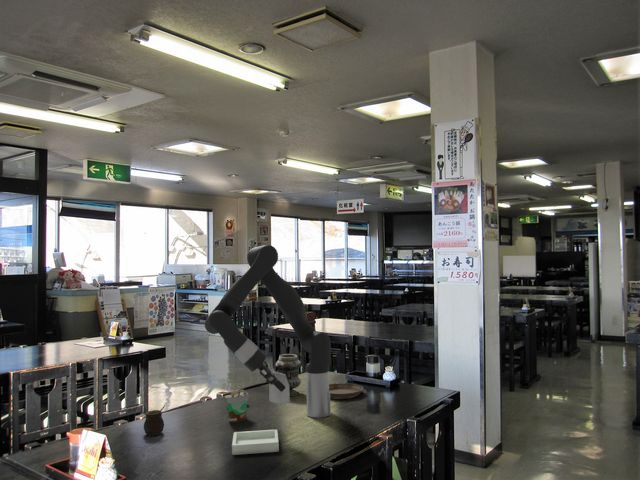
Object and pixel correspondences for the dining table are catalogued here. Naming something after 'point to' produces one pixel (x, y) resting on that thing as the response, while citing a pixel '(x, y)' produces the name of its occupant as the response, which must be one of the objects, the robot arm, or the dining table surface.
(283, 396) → the tea bag
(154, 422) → the mate gourd
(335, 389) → the plant saucer
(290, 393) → the apothecary jar
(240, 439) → the tray
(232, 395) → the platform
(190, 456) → the dining table surface
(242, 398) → the food container
